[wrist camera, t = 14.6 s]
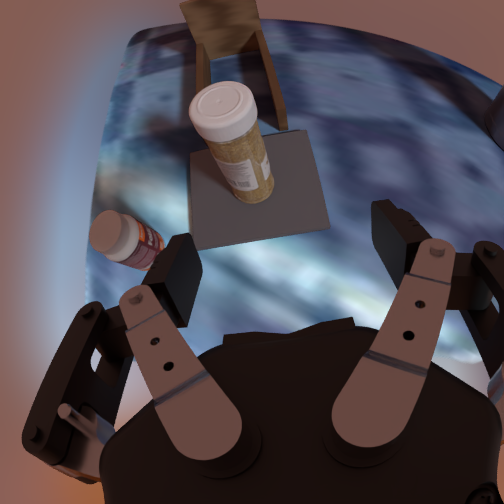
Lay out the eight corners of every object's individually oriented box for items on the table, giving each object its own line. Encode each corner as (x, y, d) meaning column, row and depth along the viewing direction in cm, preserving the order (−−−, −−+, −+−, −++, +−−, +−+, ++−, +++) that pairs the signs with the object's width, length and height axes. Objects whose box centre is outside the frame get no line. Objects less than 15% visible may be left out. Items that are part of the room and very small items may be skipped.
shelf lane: (264, 45, 36) (251, -15, 25) (288, 129, 32) (278, 53, 20) (203, 58, 37) (179, 3, 26) (207, 146, 33) (168, 79, 21)
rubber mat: (306, 133, 31) (306, 129, 30) (329, 228, 28) (330, 226, 27) (192, 156, 33) (189, 153, 32) (196, 250, 30) (194, 249, 29)
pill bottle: (174, 249, 31) (134, 226, 23) (146, 280, 30) (100, 267, 22) (150, 222, 32) (109, 195, 24) (125, 252, 32) (79, 233, 24)
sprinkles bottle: (283, 180, 29) (267, 90, 16) (256, 213, 29) (221, 136, 16) (249, 160, 30) (216, 72, 18) (223, 191, 30) (173, 112, 17)
